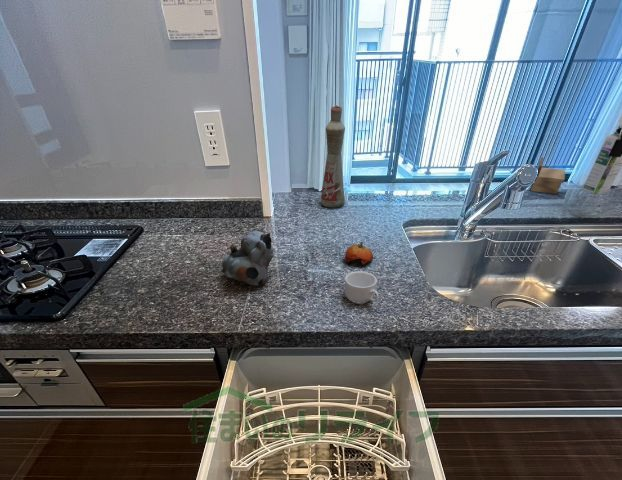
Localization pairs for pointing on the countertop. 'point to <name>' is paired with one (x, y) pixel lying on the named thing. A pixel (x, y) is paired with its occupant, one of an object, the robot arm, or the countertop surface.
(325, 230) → the countertop surface
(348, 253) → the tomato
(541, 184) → the small cardboard box
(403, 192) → the countertop surface
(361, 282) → the teacup
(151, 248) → the countertop surface
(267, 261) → the lucky cat figurine
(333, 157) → the bottle
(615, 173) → the syrup box
